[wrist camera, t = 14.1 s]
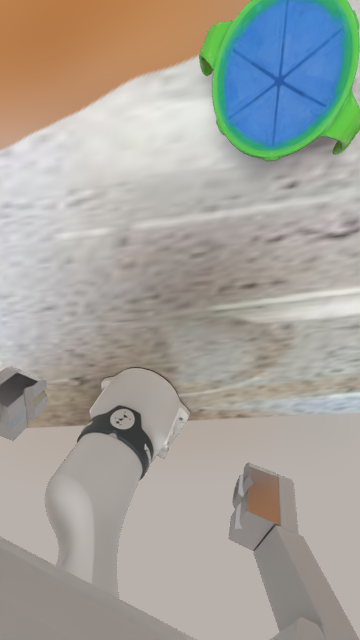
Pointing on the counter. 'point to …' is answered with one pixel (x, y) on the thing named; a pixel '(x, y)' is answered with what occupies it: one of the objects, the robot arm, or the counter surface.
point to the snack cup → (284, 75)
